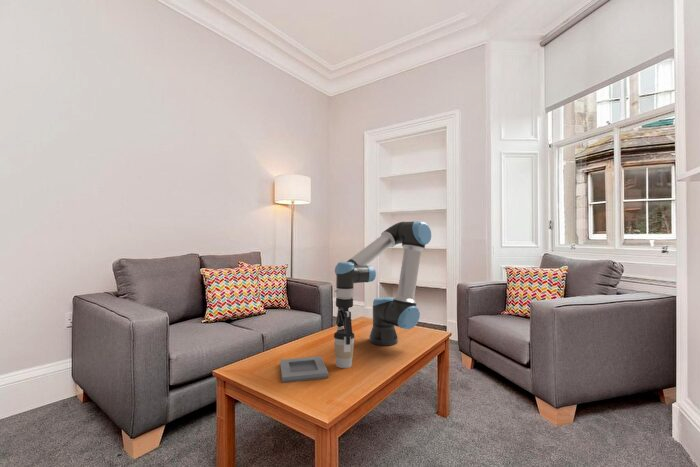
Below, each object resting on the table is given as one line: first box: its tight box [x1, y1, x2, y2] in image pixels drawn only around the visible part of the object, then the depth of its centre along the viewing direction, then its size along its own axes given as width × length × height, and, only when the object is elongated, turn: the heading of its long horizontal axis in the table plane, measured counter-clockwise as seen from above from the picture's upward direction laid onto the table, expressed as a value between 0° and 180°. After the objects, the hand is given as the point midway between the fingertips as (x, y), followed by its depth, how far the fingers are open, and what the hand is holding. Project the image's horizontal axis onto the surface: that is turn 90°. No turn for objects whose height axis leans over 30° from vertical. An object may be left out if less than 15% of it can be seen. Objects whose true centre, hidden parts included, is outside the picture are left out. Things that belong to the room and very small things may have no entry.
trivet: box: [279, 355, 329, 383], centre depth 138 cm, size 18×18×2 cm
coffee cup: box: [333, 328, 355, 369], centre depth 144 cm, size 9×9×15 cm
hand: (343, 346), depth 144 cm, fingers open, 13 cm apart
